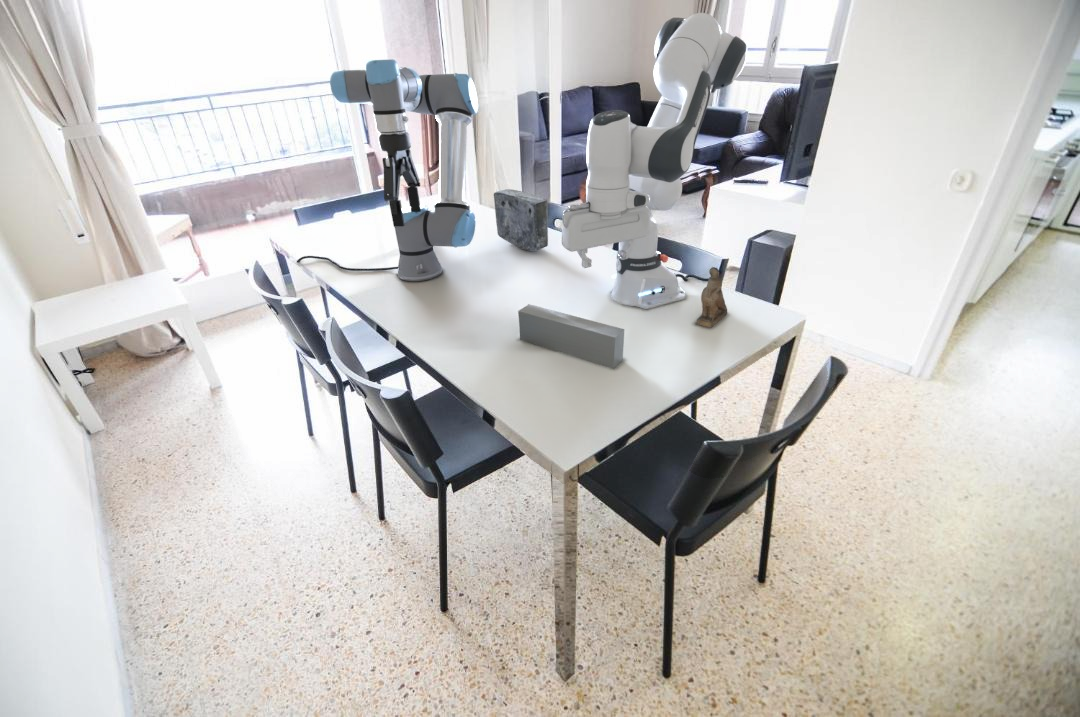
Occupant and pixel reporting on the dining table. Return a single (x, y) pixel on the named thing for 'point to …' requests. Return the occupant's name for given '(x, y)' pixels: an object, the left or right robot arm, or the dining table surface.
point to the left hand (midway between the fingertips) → (408, 218)
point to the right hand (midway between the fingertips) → (605, 262)
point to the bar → (572, 335)
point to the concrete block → (522, 219)
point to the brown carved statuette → (712, 301)
